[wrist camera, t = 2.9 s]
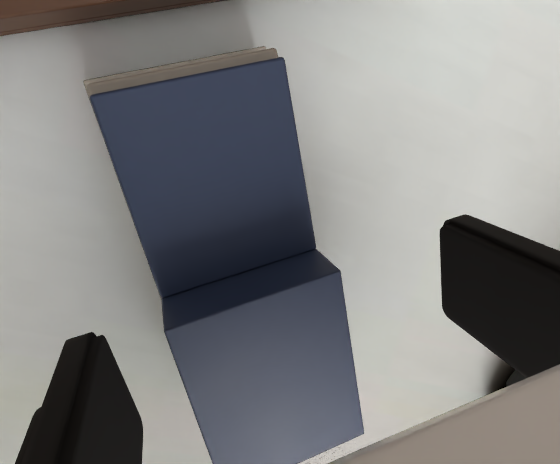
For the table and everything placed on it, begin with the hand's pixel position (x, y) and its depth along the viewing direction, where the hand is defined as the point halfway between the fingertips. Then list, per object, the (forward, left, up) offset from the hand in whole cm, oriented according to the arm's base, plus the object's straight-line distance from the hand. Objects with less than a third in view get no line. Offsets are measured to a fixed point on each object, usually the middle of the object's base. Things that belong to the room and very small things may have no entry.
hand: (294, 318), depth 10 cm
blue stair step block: (-1, 0, -7) cm, 7 cm away
